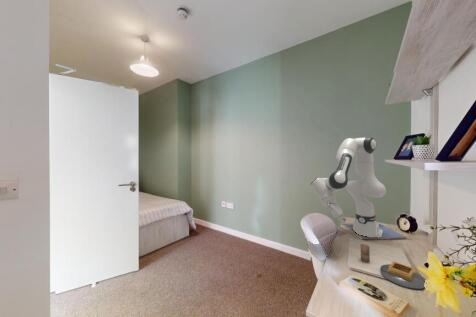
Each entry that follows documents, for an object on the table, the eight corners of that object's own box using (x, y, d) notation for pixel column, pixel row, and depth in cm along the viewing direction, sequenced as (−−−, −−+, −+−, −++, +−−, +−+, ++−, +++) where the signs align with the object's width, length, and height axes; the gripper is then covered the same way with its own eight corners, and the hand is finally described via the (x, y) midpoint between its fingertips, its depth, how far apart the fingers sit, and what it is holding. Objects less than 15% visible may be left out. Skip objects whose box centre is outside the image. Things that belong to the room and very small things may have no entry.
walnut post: (362, 257, 103) (362, 243, 103) (370, 260, 99) (370, 246, 99) (359, 260, 100) (359, 245, 100) (368, 263, 97) (367, 248, 97)
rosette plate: (386, 263, 96) (386, 255, 96) (429, 279, 83) (429, 269, 83) (375, 275, 87) (375, 266, 87) (422, 295, 74) (422, 284, 74)
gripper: (332, 199, 105) (348, 222, 99) (335, 198, 122) (350, 217, 116) (322, 205, 107) (338, 227, 101) (327, 203, 124) (340, 222, 118)
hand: (344, 222), depth 109 cm, fingers open, 8 cm apart
